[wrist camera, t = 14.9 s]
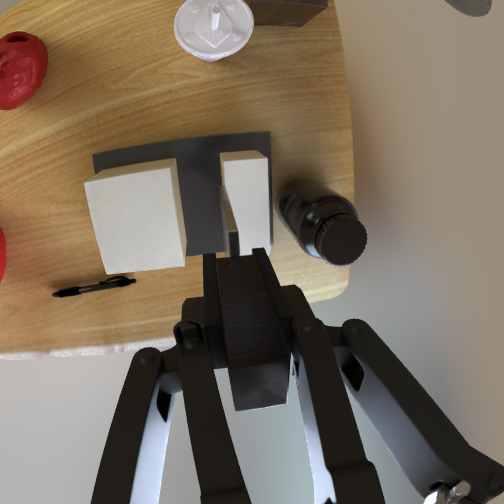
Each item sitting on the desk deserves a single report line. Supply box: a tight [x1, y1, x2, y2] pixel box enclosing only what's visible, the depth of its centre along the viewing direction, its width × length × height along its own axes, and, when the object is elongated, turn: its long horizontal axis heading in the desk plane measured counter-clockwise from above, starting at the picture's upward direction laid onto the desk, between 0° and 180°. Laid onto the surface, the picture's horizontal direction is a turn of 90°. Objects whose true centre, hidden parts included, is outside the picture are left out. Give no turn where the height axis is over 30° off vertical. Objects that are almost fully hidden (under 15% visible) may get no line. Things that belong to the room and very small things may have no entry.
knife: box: [216, 186, 290, 412], centre depth 18 cm, size 2×6×18 cm, turn 3°
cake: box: [84, 158, 187, 275], centre depth 29 cm, size 9×10×6 cm
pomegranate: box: [0, 31, 48, 110], centre depth 18 cm, size 10×10×9 cm
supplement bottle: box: [277, 178, 367, 267], centre depth 31 cm, size 7×7×12 cm
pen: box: [52, 276, 136, 297], centre depth 36 cm, size 14×2×1 cm, turn 97°
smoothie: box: [174, 0, 254, 62], centre depth 20 cm, size 6×6×14 cm
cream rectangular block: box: [220, 150, 270, 256], centre depth 31 cm, size 4×10×6 cm, turn 3°
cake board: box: [92, 131, 273, 256], centre depth 33 cm, size 20×14×1 cm
